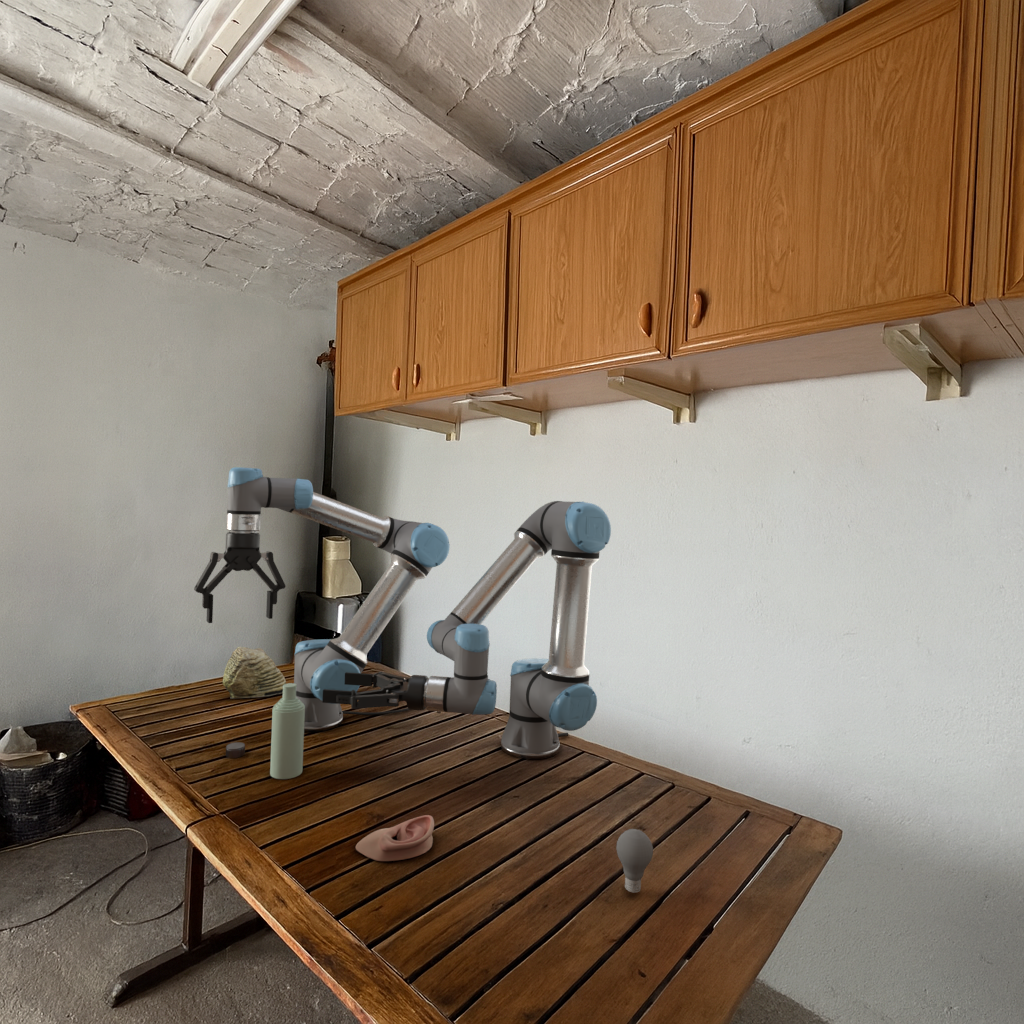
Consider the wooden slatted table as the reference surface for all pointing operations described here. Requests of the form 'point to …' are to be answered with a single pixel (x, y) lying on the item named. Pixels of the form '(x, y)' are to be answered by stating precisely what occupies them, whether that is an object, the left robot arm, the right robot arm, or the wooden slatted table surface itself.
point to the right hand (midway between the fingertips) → (334, 686)
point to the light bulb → (634, 857)
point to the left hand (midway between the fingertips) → (240, 620)
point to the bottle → (287, 735)
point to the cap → (235, 750)
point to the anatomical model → (399, 840)
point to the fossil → (252, 674)
